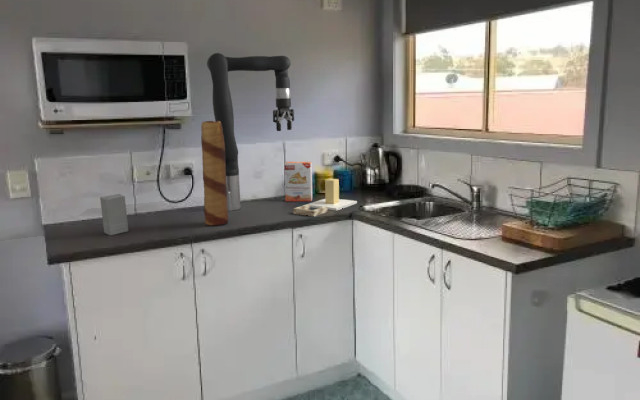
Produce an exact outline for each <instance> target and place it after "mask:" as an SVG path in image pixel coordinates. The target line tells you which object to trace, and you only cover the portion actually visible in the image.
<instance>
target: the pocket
mask: <svg viewBox="0 0 640 400" xmlns="http://www.w3.org/2000/svg"><path fill="white" fill-rule="evenodd" d="M309 204H310V203H307V204H303V205H300V206H297V207H294V208H293V209H292V214H293V215H299V214H300V216H306V215H308V217H313V216H314V217H317V216H320V215H323V214H325V213H328V210H327V207H325V206H324V207H321V208H314V209H311V207H309Z"/></svg>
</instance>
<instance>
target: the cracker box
mask: <svg viewBox="0 0 640 400" xmlns="http://www.w3.org/2000/svg"><path fill="white" fill-rule="evenodd" d="M284 191H285V192H284V193H285V194H284V195H285V199H284V200H285V202H299V203H300V202H302V203H303V202H304V203H305V202H307V203H312V201H313V163H312V161H285V162H284Z"/></svg>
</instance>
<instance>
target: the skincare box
mask: <svg viewBox="0 0 640 400" xmlns="http://www.w3.org/2000/svg"><path fill="white" fill-rule="evenodd" d="M99 200H100V207H101V216H102V217H101V218H102V226H103V232H104V234H107V235H109V236H113V235H114V236H115V235H118V234H119V235H120V234H122V233H123V234H124V233H126V232H129V226H128V225H129V224H128V223H129V222H128V214H127V205H126V196H125V195H123V194H121V193H116V194H111V195H105V196H100V197H99Z"/></svg>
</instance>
